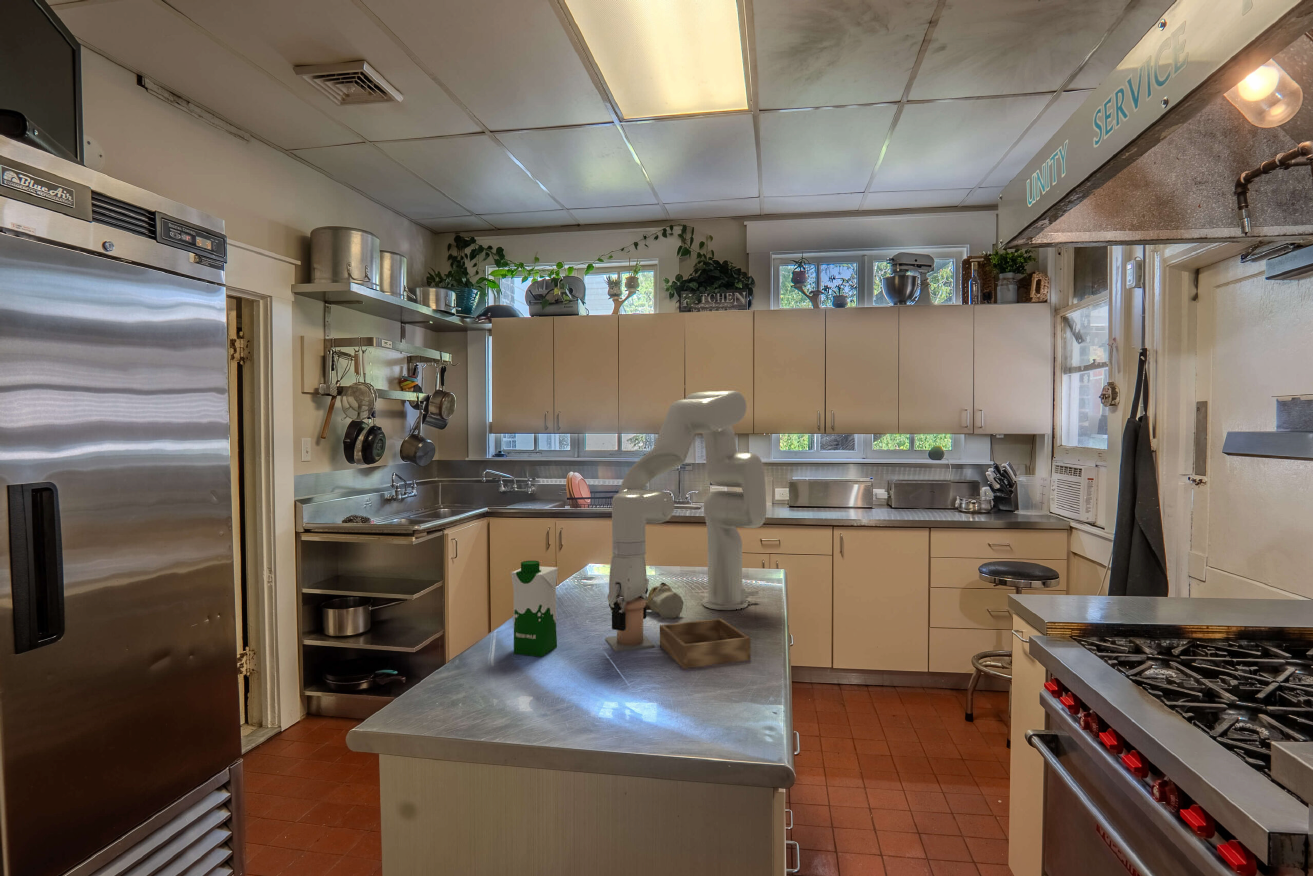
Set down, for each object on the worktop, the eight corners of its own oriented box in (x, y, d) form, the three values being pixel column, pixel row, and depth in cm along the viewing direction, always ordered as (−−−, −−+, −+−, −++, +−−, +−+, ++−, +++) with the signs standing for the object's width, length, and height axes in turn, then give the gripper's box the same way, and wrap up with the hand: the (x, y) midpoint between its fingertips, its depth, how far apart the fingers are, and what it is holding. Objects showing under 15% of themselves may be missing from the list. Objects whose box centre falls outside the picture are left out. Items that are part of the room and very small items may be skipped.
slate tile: (642, 637, 153) (642, 633, 153) (654, 649, 144) (654, 645, 144) (605, 641, 150) (605, 637, 150) (615, 654, 141) (615, 649, 141)
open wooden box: (721, 640, 150) (721, 618, 150) (750, 661, 136) (750, 638, 136) (659, 647, 146) (659, 625, 146) (683, 670, 131) (683, 646, 131)
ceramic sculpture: (656, 588, 164) (631, 580, 177) (657, 623, 163) (632, 612, 177) (693, 584, 168) (666, 576, 182) (694, 618, 168) (667, 607, 181)
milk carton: (507, 654, 142) (506, 563, 141) (528, 642, 150) (528, 555, 150) (543, 659, 139) (542, 565, 138) (563, 645, 147) (562, 557, 147)
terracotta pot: (640, 634, 152) (640, 596, 152) (650, 644, 145) (650, 603, 145) (610, 637, 149) (610, 598, 149) (618, 647, 143) (618, 606, 142)
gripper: (632, 541, 156) (633, 612, 156) (594, 553, 141) (595, 632, 141) (660, 543, 153) (661, 616, 153) (624, 556, 137) (625, 637, 138)
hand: (629, 623), depth 147 cm, fingers open, 9 cm apart
